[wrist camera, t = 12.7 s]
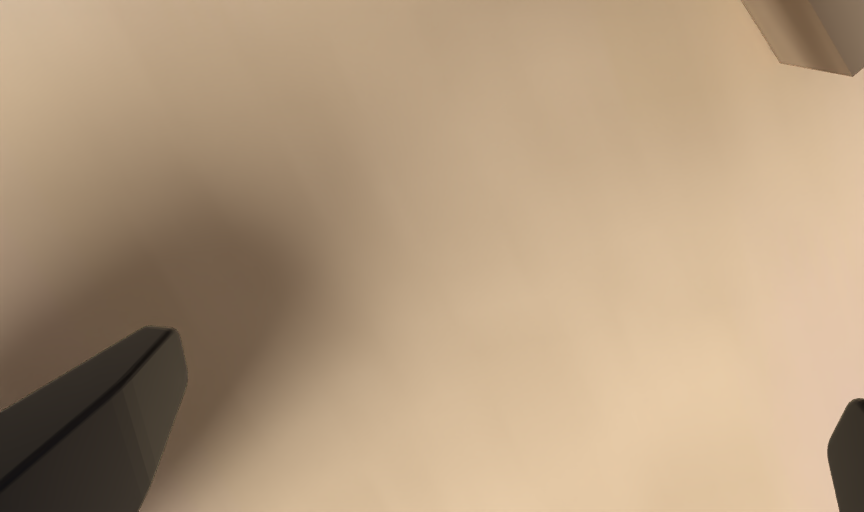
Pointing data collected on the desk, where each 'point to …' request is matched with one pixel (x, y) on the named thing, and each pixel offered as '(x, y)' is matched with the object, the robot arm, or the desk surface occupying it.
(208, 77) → the desk surface
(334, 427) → the desk surface
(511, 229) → the desk surface
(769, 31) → the brown square frame
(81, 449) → the robot arm
